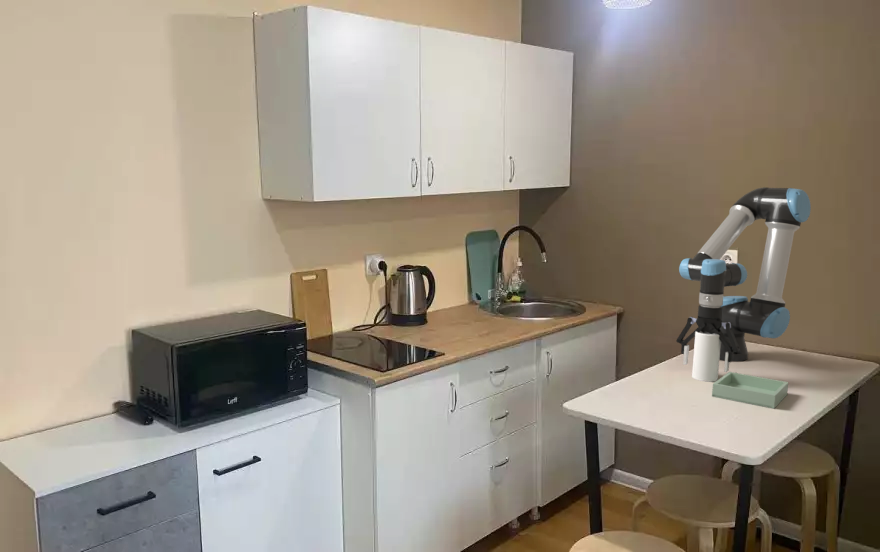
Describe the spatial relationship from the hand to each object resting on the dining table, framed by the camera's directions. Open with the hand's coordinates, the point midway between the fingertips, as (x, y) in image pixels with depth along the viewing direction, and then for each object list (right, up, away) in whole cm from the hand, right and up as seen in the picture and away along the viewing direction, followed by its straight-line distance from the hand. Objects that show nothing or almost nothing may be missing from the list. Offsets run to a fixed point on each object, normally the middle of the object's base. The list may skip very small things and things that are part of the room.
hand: (705, 367), depth 244 cm
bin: (+7, -7, -17) cm, 20 cm away
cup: (0, -4, +1) cm, 4 cm away
